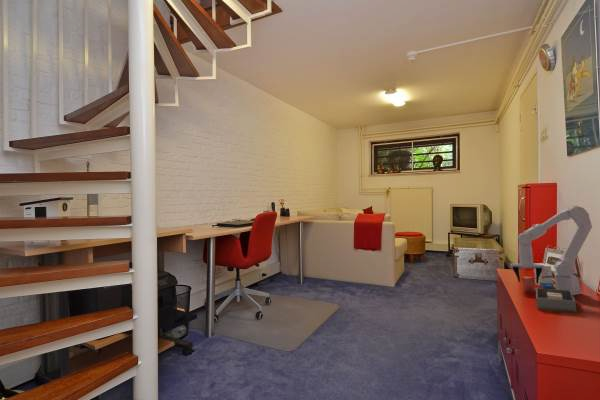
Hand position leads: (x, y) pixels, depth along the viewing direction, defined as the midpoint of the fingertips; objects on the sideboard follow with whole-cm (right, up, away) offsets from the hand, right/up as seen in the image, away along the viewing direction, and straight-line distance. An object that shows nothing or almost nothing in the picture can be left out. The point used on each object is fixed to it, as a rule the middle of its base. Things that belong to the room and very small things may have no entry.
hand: (528, 281), depth 165 cm
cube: (-7, -4, -26) cm, 27 cm away
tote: (-4, -5, -23) cm, 24 cm away
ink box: (+13, -4, +6) cm, 15 cm away
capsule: (0, -5, 0) cm, 5 cm away
